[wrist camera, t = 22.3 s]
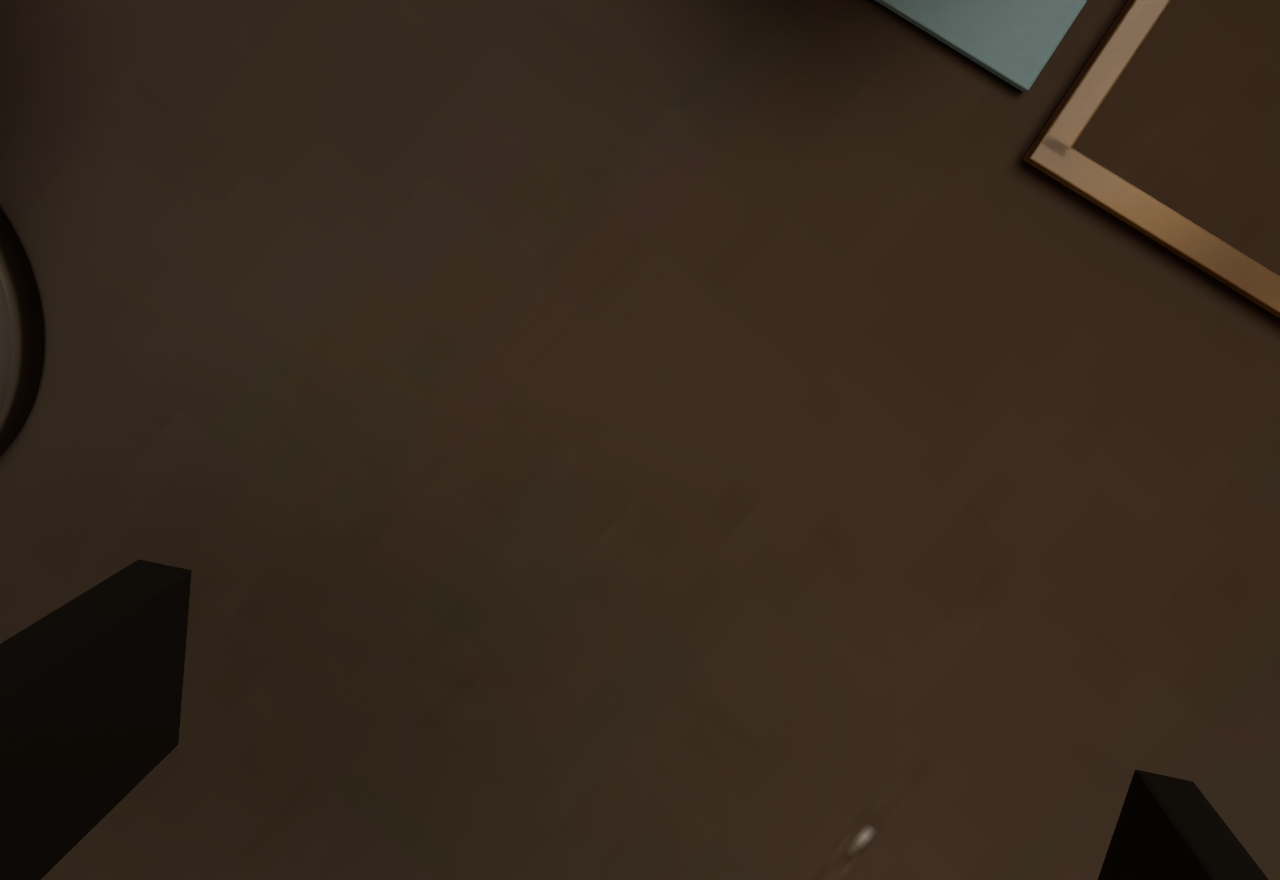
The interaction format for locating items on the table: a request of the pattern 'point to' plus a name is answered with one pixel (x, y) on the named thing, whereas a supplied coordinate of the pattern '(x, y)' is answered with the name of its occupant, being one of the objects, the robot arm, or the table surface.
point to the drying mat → (995, 31)
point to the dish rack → (1121, 196)
